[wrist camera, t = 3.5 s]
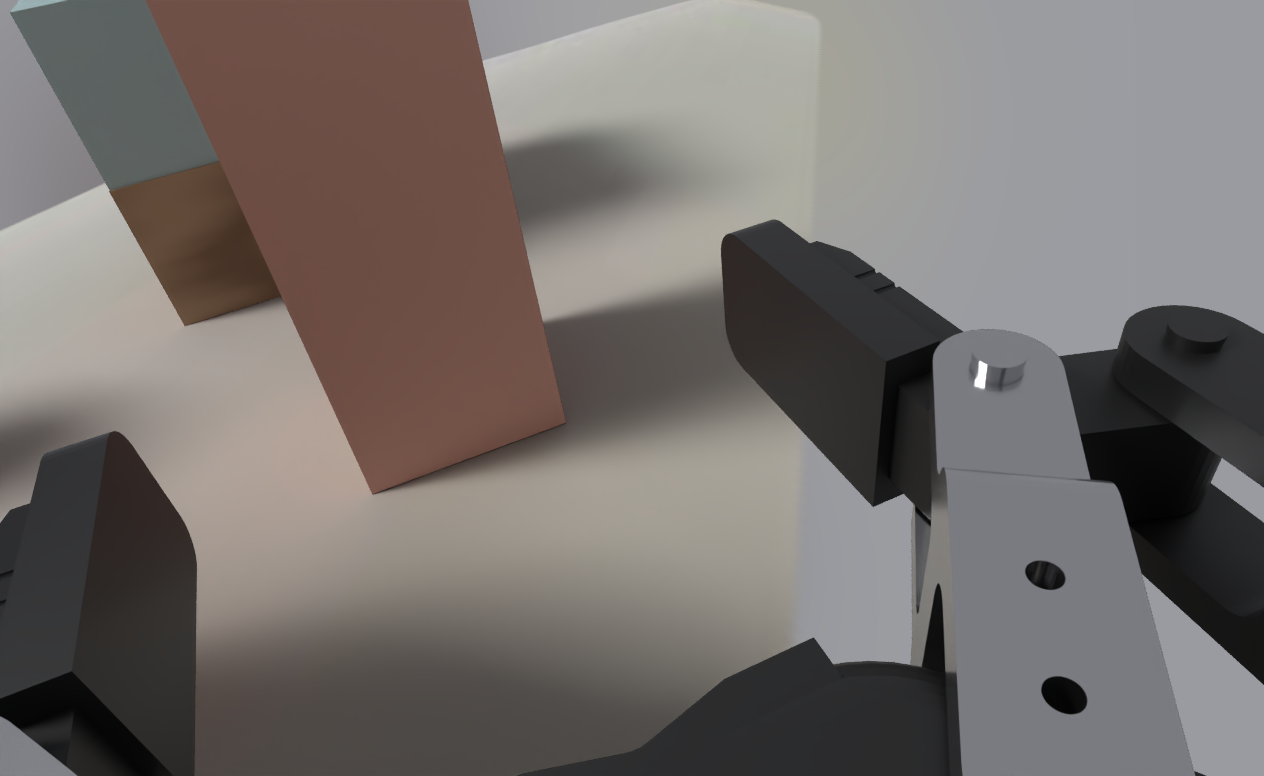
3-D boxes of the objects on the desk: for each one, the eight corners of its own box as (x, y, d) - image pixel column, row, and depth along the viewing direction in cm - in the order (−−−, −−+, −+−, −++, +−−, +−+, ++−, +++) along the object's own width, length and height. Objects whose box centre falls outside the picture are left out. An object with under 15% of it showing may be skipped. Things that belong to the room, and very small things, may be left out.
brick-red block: (372, 493, 20) (117, -62, 12) (345, 383, 24) (137, -94, 16) (566, 422, 21) (439, -124, 14) (511, 328, 25) (388, -141, 17)
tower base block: (186, 330, 27) (109, 191, 24) (186, 235, 33) (124, 114, 30) (420, 257, 29) (375, 120, 26) (380, 180, 35) (340, 61, 32)
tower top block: (110, 191, 24) (9, 12, 21) (123, 114, 30) (46, -34, 27) (375, 119, 26) (319, -54, 23) (338, 61, 32) (290, -83, 29)
